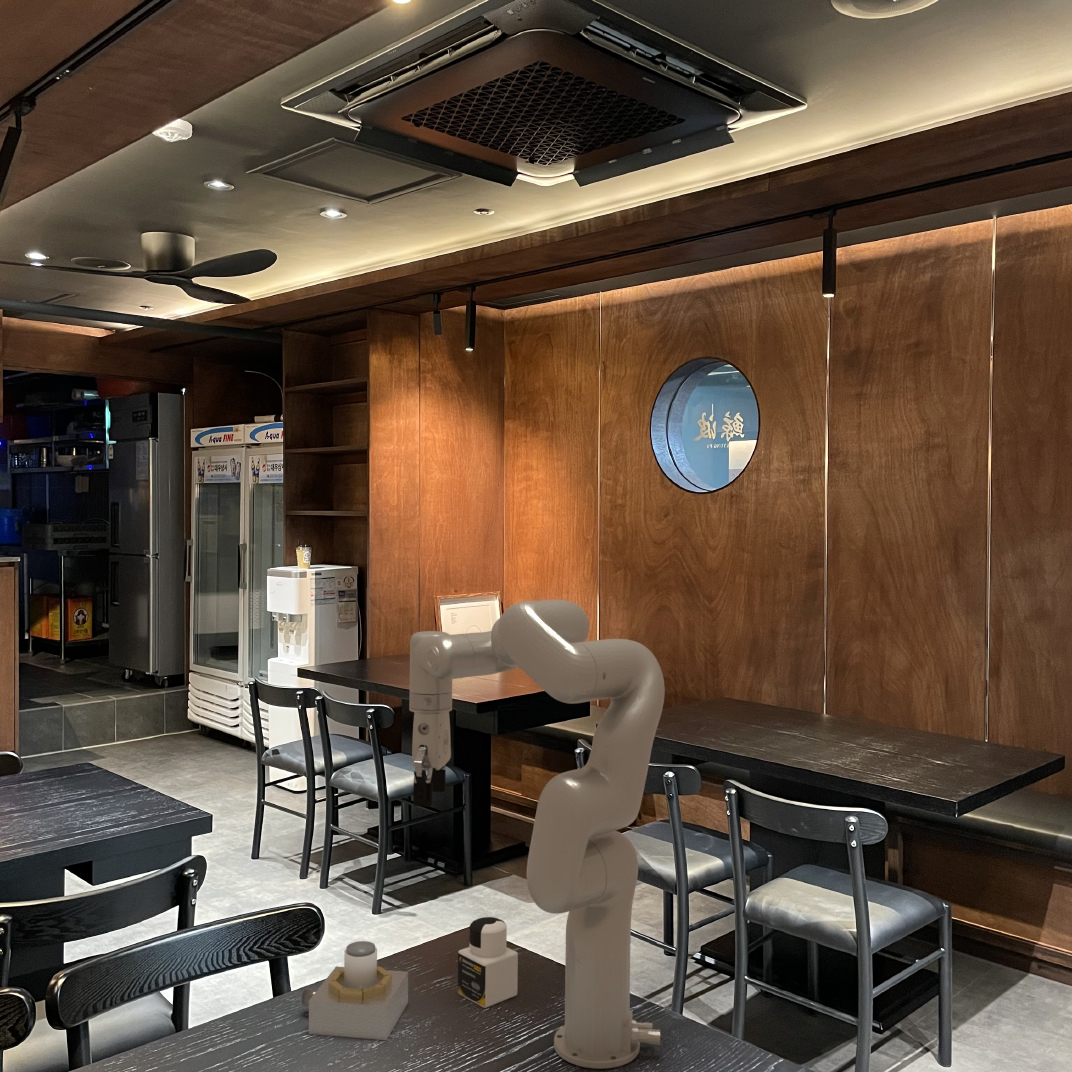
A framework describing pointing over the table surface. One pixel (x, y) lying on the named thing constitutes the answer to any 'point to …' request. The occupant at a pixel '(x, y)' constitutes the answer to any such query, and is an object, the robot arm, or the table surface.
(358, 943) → the short grey cylinder
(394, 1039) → the table surface
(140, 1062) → the table surface
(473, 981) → the medicine bottle
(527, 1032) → the table surface
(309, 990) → the block
